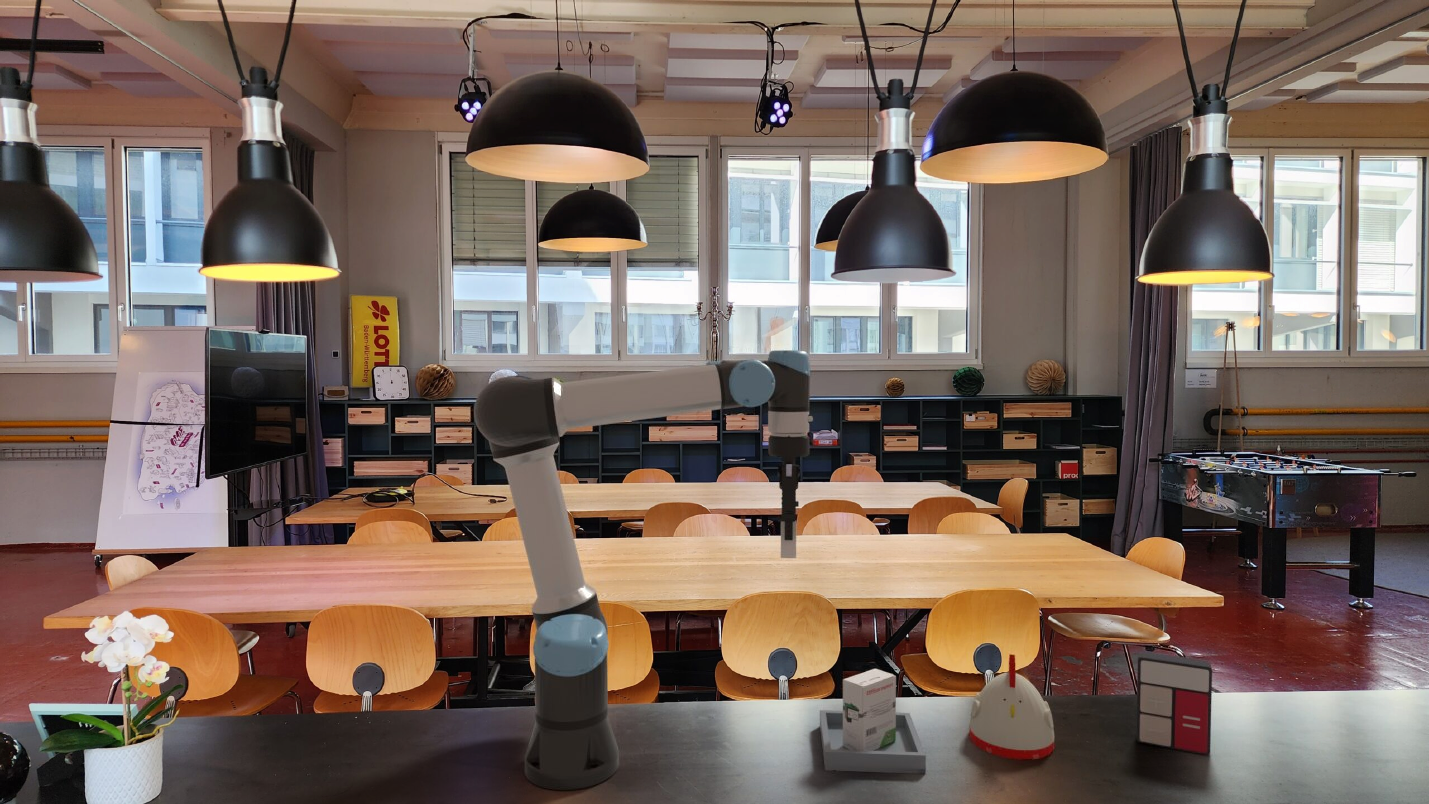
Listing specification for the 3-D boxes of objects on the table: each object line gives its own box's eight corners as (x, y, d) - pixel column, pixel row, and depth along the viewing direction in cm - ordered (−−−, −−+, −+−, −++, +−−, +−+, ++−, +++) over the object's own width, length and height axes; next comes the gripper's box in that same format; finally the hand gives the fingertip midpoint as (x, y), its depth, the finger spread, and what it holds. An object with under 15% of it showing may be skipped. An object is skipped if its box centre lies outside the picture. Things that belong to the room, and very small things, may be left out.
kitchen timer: (968, 752, 137) (969, 665, 136) (970, 718, 150) (971, 638, 149) (1057, 765, 132) (1058, 675, 131) (1051, 729, 145) (1052, 647, 145)
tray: (824, 769, 131) (824, 751, 130) (819, 726, 146) (819, 710, 146) (925, 773, 129) (925, 755, 129) (909, 729, 145) (909, 712, 145)
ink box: (875, 731, 142) (875, 665, 142) (897, 742, 138) (897, 674, 138) (840, 745, 137) (841, 677, 137) (862, 756, 133) (863, 686, 133)
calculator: (1136, 743, 139) (1137, 658, 139) (1136, 733, 143) (1137, 650, 143) (1210, 757, 134) (1212, 669, 134) (1208, 747, 138) (1210, 660, 137)
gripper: (811, 440, 136) (810, 565, 136) (807, 429, 160) (807, 535, 161) (766, 440, 136) (766, 564, 137) (769, 429, 161) (769, 534, 162)
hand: (788, 549), depth 149 cm, fingers open, 13 cm apart
